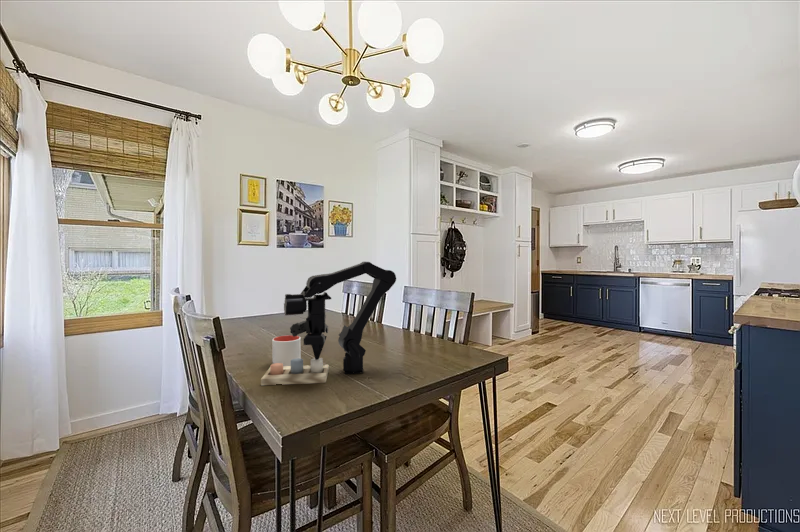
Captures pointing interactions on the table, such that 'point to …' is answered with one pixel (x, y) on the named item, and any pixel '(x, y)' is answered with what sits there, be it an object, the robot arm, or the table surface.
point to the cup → (286, 349)
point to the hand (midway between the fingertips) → (317, 359)
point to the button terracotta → (276, 369)
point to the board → (295, 376)
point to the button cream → (316, 365)
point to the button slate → (296, 366)
